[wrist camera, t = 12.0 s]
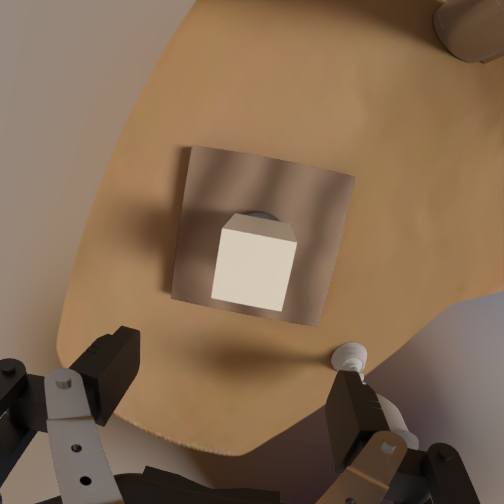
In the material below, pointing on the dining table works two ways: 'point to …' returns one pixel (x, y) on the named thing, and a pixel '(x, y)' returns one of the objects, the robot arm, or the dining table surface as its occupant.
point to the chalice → (354, 360)
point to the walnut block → (267, 200)
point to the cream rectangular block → (254, 262)
